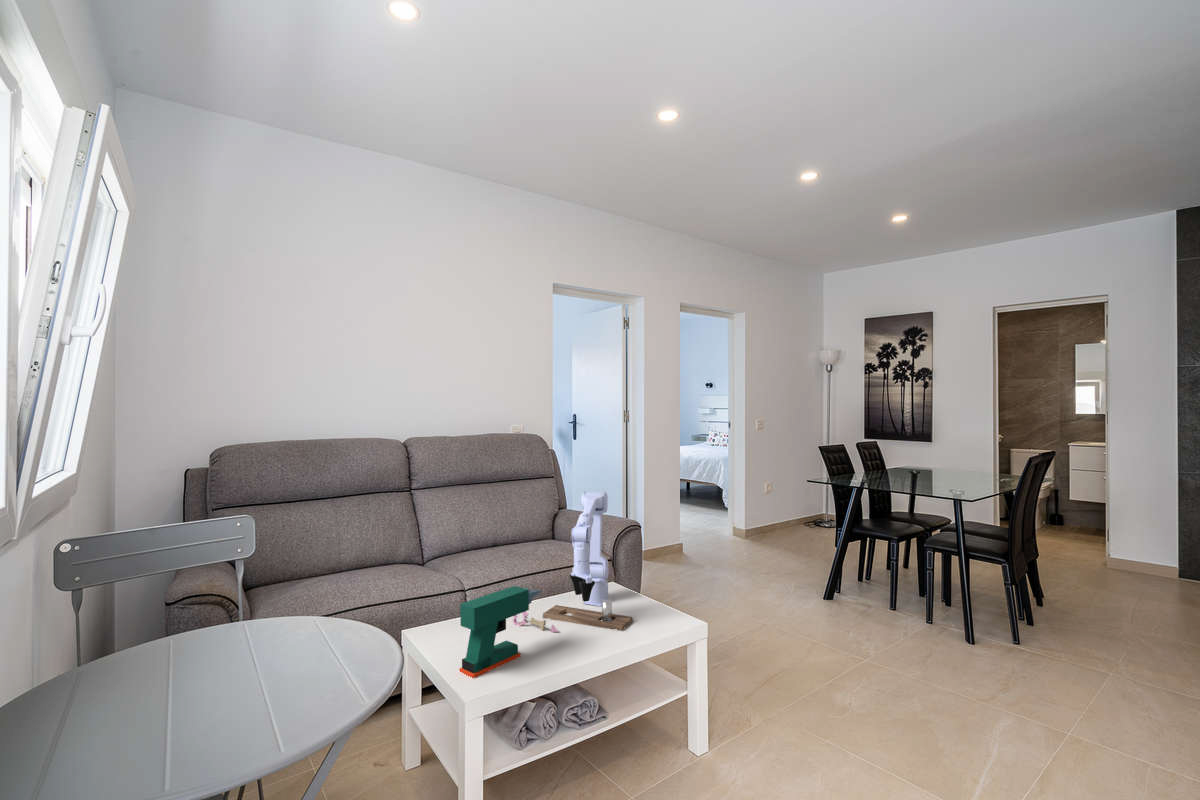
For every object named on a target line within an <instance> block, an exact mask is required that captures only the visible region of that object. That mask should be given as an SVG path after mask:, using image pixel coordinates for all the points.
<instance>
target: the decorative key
mask: <svg viewBox="0 0 1200 800" xmlns="http://www.w3.org/2000/svg"><path fill="white" fill-rule="evenodd" d="M521 615H522V617H523V618H522V622H520V623H519V622H518V620H517V619H518V618H519V615H518V614H517V615H515V616H513V619H512V622H513V624H514V625H515V626H517V625H519V626H518V627H520V626H523V625H524V624H528V622H530V624H534V625H535V626H537V627H538V628H540V630H541V631H545V630H546V629H549V630H550V633H553V632H557V633H558V632H560V631H559V630H558V629H557V628H556V627H555V625H554V624H552V625H551V626H550V625H548V624H547V620H546V619H543V620H537V619H535V618H534V617H528V615H529V613H528V612H527V611H525V612H522V613H521Z"/></svg>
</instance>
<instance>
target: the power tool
mask: <svg viewBox="0 0 1200 800" xmlns="http://www.w3.org/2000/svg"><path fill="white" fill-rule="evenodd" d="M542 592H543V589H540V590H539V589H538V590H530V589H529V588H527V587H521V586H516V585H514V586H510V587H507V588H504V589H500V590H498V591H496V592H492V593H488V594H486V595H483V596H480V597H477V598H474V599H471V600H469V601H468V600H467V601H465V602H462V603H460V606H459V607H460V615H459V617H460V627H463V628H464V629H465V628H466V629H468V630H470V634H469V639H468V642H467V643H468V644H467V649H466V656H465V657H464V658H462V659H461V667H460V668H459V671H460V672H462V673H464V674H463V675H465V674H466V675H465V676H467V675H468V676H467V677H469V676H470V677H469V678H471V677H472V678H471V679H475V678H477V676H478V677H480V676H482V675H484V674H486V673H488V672H490V671H489V670H491V671H492V669H493V670H494V668H495V669H497V668H499V667H501V666H503V664H504V665H505V663H506V664H508V663H510V662H512V661H515V660H516V658H517V659H519V658H520V657H521V652H519V644H517V643H514V642H512V641H509V640H504V641H501V642H499V643H497V644H495V642H496V635H497V634H499V633H501V632H503V631H506V630H507V619H509V618H511V617H514V616H515V615H517V616H518V615H520V614H522V612H525V611H526V612H527V611H530V604H532V602H533V598H535V597H536V596H537V595H539V594H540V593H542ZM518 657H519V658H518ZM509 661H510V662H509ZM498 666H499V667H498ZM496 667H497V668H496ZM487 671H488V672H487ZM460 672H459V673H460ZM485 672H486V673H485ZM462 673H461V674H462ZM483 673H484V674H483ZM481 674H482V675H481ZM479 675H480V676H479ZM474 677H475V678H474Z"/></svg>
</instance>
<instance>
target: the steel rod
mask: <svg viewBox="0 0 1200 800" xmlns="http://www.w3.org/2000/svg"><path fill="white" fill-rule="evenodd" d="M601 612H602V621H607V622H612V621H613V620H612V614H613V600H612V599H611V598H610V599H603V600H602V606H601Z"/></svg>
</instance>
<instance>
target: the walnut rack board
mask: <svg viewBox="0 0 1200 800" xmlns="http://www.w3.org/2000/svg"><path fill="white" fill-rule="evenodd" d="M569 613H570V615H569ZM543 617H544V618H543ZM542 618H543V619H548V618H550V619H549V620H554V619H555V620H556V621H560V622H567V623H571V624H572V623H573V624H578V625H579V624H580V625H583V626H590V627H596V628H602V627H603V629H608V628H609V630H614V629H617V630H616V631H620V630H623V629H624V628H625V627H626V626H627V625H628V624H629V623H630V622H631V623H633V622H634V617H633V616H628V615H623V614H615V613H612V622H607V621H601V620H602V611H598V610H597V611H596V610H590V609H584V608H577V607H571V606H565V605H564V606H563V605H557V604H555V605H554V606H552V607H550V608H549V609H548V610H546V611H544V612H543V613H542ZM631 623H630V624H631ZM630 624H629V625H630ZM629 625H628V626H629ZM628 626H627V627H628ZM627 627H626V628H627ZM626 628H625V629H626ZM625 629H624V630H625ZM624 630H623V631H624Z"/></svg>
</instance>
